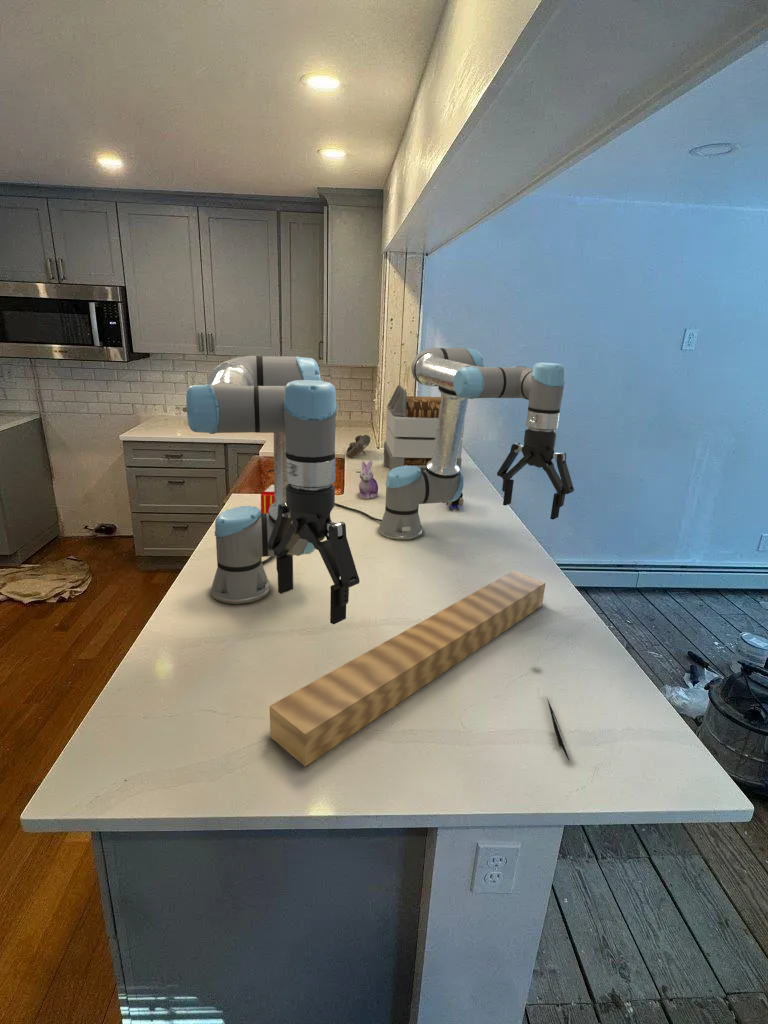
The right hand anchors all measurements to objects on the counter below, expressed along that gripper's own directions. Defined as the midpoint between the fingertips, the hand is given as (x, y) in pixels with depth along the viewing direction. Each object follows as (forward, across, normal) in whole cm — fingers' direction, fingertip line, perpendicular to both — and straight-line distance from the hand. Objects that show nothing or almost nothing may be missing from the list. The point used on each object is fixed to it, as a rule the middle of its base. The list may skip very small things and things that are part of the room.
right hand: (529, 511), depth 145 cm
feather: (+28, +28, -33) cm, 51 cm away
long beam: (+28, 0, -36) cm, 45 cm away
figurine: (+28, -93, +36) cm, 103 cm away
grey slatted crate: (+28, -102, +80) cm, 133 cm away
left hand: (0, 0, -72) cm, 72 cm away
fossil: (+28, -147, +83) cm, 171 cm away
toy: (+28, -96, -7) cm, 100 cm away
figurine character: (+28, -62, +54) cm, 86 cm away
